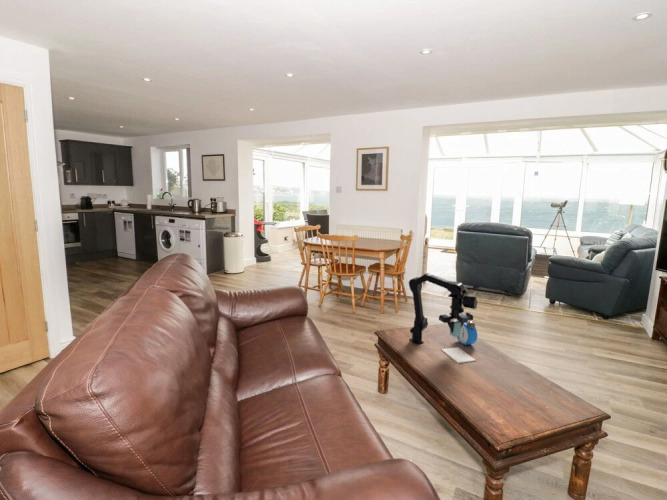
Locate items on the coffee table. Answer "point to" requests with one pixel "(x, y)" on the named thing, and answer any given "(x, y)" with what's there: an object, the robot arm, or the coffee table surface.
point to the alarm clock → (468, 333)
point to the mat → (458, 355)
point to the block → (456, 328)
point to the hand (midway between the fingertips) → (455, 331)
